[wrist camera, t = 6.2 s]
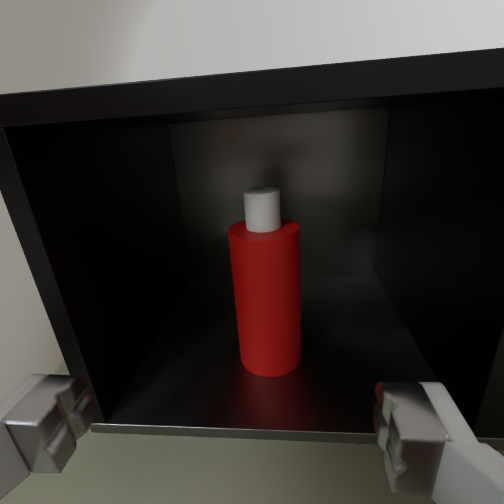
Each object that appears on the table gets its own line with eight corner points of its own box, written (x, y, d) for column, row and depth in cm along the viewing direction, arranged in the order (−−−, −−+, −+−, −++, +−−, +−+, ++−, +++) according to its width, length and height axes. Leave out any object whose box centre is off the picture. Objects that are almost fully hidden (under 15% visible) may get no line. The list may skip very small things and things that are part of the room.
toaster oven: (82, 447, 24) (-61, 95, 15) (185, 279, 49) (157, 110, 39) (614, 471, 20) (884, 6, 10) (429, 275, 45) (461, 86, 35)
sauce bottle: (237, 376, 28) (217, 200, 22) (244, 335, 33) (230, 184, 27) (302, 378, 27) (301, 196, 21) (299, 335, 33) (297, 181, 26)
